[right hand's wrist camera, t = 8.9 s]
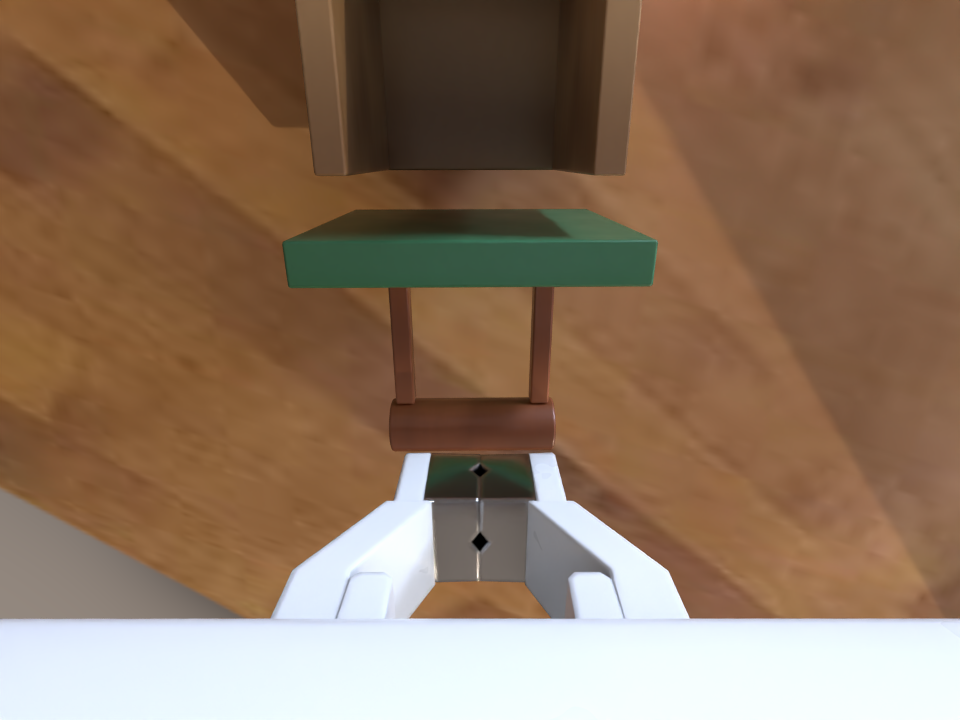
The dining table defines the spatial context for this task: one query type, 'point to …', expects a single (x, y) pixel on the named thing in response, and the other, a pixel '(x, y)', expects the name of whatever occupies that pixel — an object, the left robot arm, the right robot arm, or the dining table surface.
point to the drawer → (469, 146)
